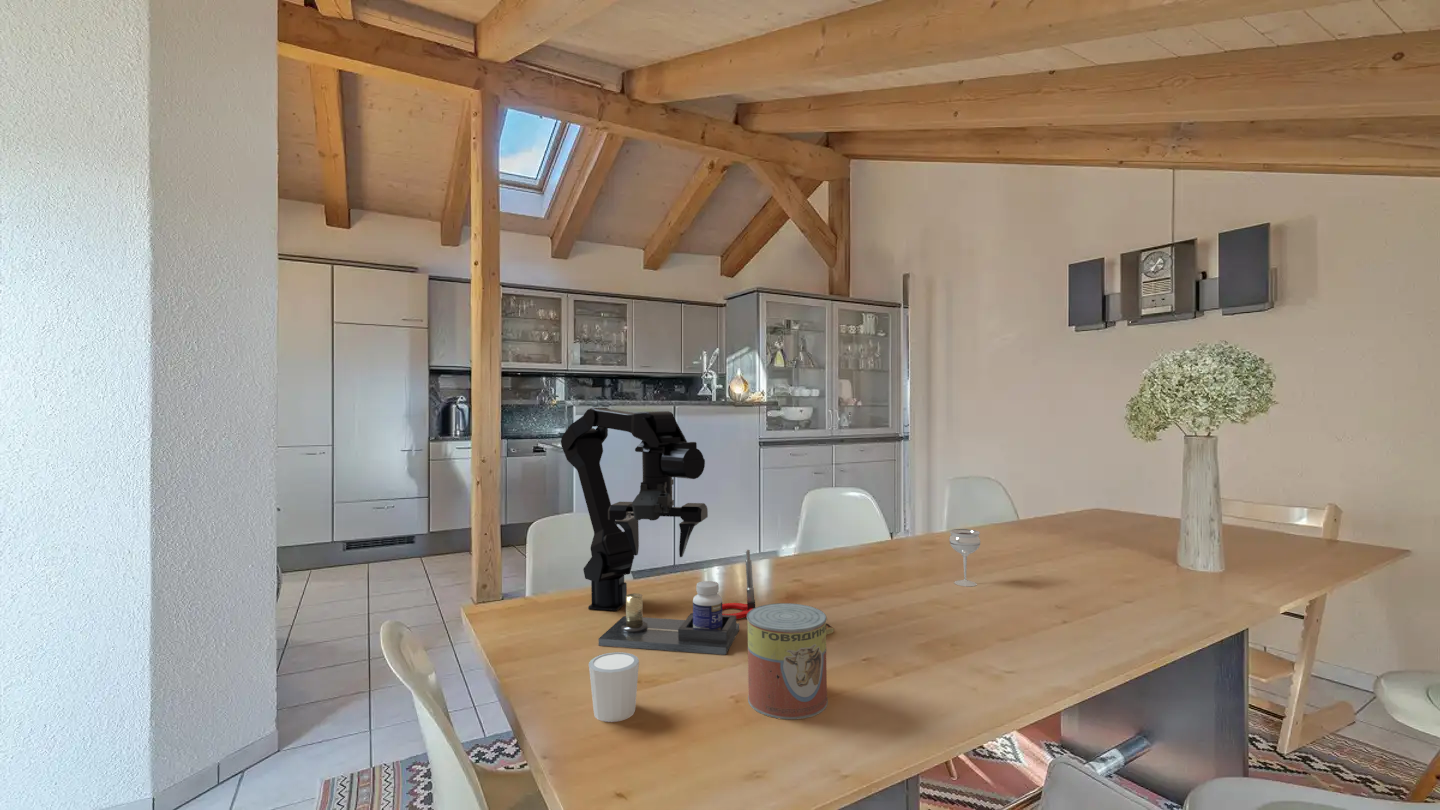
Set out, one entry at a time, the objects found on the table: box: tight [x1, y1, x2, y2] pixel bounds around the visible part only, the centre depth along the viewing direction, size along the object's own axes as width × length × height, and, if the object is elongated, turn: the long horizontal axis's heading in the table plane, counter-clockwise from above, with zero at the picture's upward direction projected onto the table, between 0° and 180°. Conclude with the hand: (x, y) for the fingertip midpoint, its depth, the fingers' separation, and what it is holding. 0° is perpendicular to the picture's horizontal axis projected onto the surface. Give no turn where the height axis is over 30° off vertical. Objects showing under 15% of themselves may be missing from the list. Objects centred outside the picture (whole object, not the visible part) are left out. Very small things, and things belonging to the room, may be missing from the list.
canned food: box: [746, 602, 829, 720], centre depth 89 cm, size 11×11×12 cm
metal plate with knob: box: [598, 592, 740, 656], centre depth 114 cm, size 23×12×7 cm, turn 77°
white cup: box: [588, 651, 640, 723], centre depth 86 cm, size 7×7×7 cm
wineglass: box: [949, 528, 981, 587], centre depth 145 cm, size 7×7×12 cm
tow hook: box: [722, 549, 757, 620], centre depth 126 cm, size 8×13×9 cm
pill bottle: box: [692, 580, 723, 630], centre depth 112 cm, size 5×5×9 cm
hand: (658, 555), depth 121 cm, fingers open, 9 cm apart
